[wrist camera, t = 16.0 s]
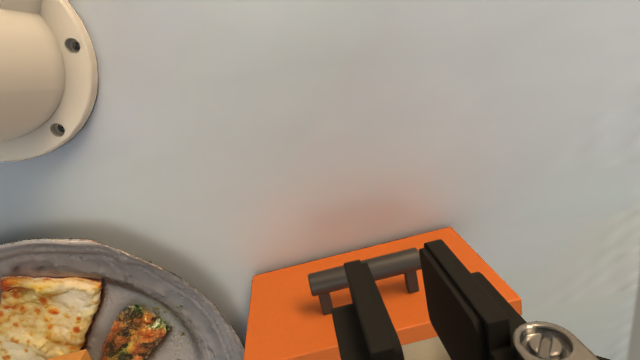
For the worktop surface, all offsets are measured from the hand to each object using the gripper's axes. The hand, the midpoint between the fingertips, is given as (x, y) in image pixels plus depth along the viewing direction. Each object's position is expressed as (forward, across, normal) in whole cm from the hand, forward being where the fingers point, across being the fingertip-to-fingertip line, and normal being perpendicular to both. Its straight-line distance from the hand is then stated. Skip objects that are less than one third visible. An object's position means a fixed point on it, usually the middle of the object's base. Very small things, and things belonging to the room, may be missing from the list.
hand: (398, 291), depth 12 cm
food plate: (+17, +23, +13) cm, 32 cm away
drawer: (+17, 0, +13) cm, 21 cm away
